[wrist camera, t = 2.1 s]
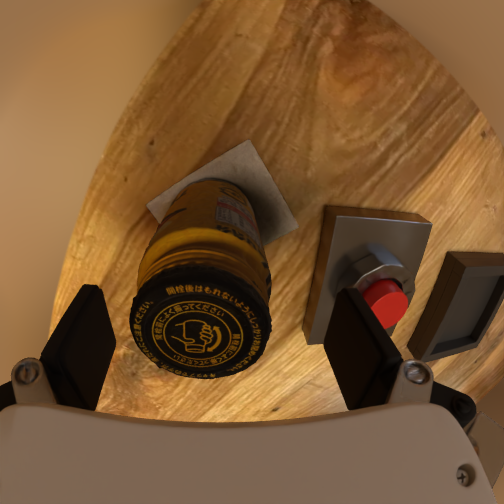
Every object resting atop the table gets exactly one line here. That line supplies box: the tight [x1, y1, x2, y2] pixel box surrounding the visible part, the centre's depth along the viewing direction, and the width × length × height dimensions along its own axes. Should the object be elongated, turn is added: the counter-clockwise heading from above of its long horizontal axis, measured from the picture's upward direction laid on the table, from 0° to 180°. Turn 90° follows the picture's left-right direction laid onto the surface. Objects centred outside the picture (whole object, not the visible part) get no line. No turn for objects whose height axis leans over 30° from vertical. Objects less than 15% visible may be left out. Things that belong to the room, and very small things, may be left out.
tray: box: [407, 252, 504, 363], centre depth 26 cm, size 13×12×3 cm
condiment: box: [129, 139, 299, 379], centre depth 15 cm, size 7×8×12 cm
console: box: [302, 206, 433, 345], centre depth 22 cm, size 12×9×4 cm
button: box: [362, 279, 408, 329], centre depth 20 cm, size 4×4×2 cm
